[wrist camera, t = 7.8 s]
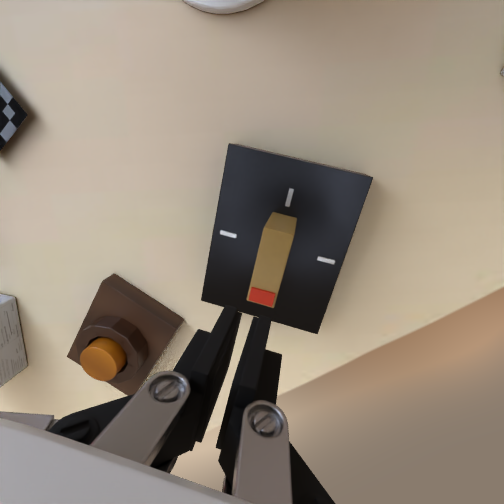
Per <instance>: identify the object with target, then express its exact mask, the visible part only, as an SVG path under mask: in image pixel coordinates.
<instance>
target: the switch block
mask: <svg viewBox="0 0 504 504" xmlns="http://www.w3.org/2000/svg"><path fill="white" fill-rule="evenodd" d="M183 321H184V319H183V318H182V317H180V316H179V315H177V314H175V313H174V312H172V311H171V310H169V309H168V308H166V307H165V306H163V305H162V304H160V303H159V302H157V301H156V300H154V299H152V298H151V297H149V296H148V295H146V294H145V293H143V292H142V291H140V290H139V289H137V288H136V287H134V286H133V285H131V284H130V283H128V282H126V281H125V280H123V279H122V278H120V277H119V276H117V275H116V274H113V275H111V276H110V277H108V278H106V279H105V280H103V281H102V283H101V285H100V287H99V289H98V292H97V294H96V296H95V298H94V300H93V302H92V304H91V306H90V309H89V311H88V313H87V315H86V317H85V319H84V321H83V323H82V326H81V328H80V330H79V332H78V334H77V336H76V338H75V340H74V343H73V345H72V347H71V349H70V351H69V353H68V355H67V357H68V358H70V359H71V360H73V361H75V362H76V363H78V364H79V365H81V362H80V355H81V353H82V351H83V350H84V349H85V348H87V347H88V346H89V345H90V344H91V343H92V342H93V341H94V340H96V339H98V338H101V337H107V338H111V339H112V340H114V341H115V342H117V343H118V344H120V345H121V347H122V348H123V350H124V351H125V352H126V356H127V359H126V363H125V365H124V366H123V367H122V369H121V370H120V371H119V372H118V373H117V375H116V376H115V377H114V378H113V379H111V380H108V381H106V382H107V383H109V384H111V385H112V386H114V387H115V388H117V389H118V390H120V391H122V392H123V393H125V394H126V395H128V396H129V395H133V394H136V392H137V391H138V390H139V388H140V387H141V386H142V384H143V382H144V381H145V379H146V378H147V376H148V375H149V373H150V372H151V370H152V369H153V367H154V365H155V364H156V362H157V361H158V359H159V358H160V356H161V355H162V353H163V352H164V350H165V349H166V347H167V345H168V344H169V342H170V341H171V339H172V338H173V336H174V335H175V333H176V332H177V330H178V329H179V327H180V325H181V324H182V322H183ZM81 366H82V365H81Z"/></svg>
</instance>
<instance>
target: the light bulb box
mask: <svg viewBox="0 0 504 504" xmlns="http://www.w3.org/2000/svg"><path fill="white" fill-rule="evenodd" d="M27 366H28V365H27V360H26V354H25V349H24V344H23V338H22V332H21V327H20V321H19V316H18V310H17V305H16V299H15V297H13V296H8V295H3V294H0V387H1V386H3V385H4V384H5V383H7V382H8V381H9V380H10V379H12V378H13V377H14V376H16V375H17V374H18V373H20V372H21V371H22V370H23V369H25V368H26V367H27Z"/></svg>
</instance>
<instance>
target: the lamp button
mask: <svg viewBox="0 0 504 504" xmlns="http://www.w3.org/2000/svg"><path fill="white" fill-rule="evenodd" d="M126 359H127V356H126V352H125V351H124V350H123V348H122V347H121V345H120V344H118V343H117V342H115V341H114V340H112V339H111V338H107V337H101V338H98V339H96V340H94V341H93V342H92V343H91V344H90V345H89V346H88V347H87V348H85V349H84V350H83V351H82V353H81V355H80V362H81V365H82V367H83V369H84V370H85V372H86V373H87V374H88V375H90V376H91V377H93V378H94V379H97V380H100V381H108V380H111V379H113V378H114V377H115V376H116V375H117V373H118V372H119V371H120V370H121V369H122V367H123V366H124V365H125V363H126Z"/></svg>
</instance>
